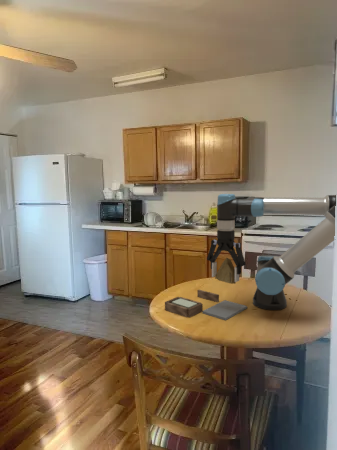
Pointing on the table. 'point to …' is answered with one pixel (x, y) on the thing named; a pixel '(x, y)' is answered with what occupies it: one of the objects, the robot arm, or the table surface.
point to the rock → (226, 272)
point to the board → (224, 310)
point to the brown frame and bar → (192, 310)
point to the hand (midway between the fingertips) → (225, 278)
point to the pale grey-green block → (184, 303)
